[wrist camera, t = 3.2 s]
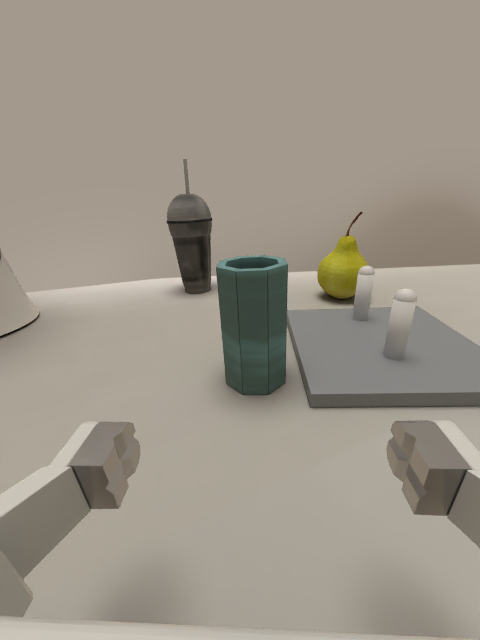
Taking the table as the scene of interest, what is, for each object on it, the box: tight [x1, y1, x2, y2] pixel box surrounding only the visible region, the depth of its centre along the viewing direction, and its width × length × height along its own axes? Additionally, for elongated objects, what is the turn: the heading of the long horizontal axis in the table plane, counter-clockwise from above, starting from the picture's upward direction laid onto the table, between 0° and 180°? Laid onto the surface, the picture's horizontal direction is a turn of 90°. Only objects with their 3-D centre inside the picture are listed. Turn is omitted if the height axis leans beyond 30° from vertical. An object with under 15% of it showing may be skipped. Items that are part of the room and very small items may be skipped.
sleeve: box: [216, 255, 288, 395], centre depth 22 cm, size 5×5×10 cm
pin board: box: [287, 266, 480, 407], centre depth 25 cm, size 16×16×7 cm
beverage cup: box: [167, 159, 212, 294], centre depth 44 cm, size 7×7×20 cm
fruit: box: [318, 212, 368, 299], centre depth 38 cm, size 7×7×12 cm
